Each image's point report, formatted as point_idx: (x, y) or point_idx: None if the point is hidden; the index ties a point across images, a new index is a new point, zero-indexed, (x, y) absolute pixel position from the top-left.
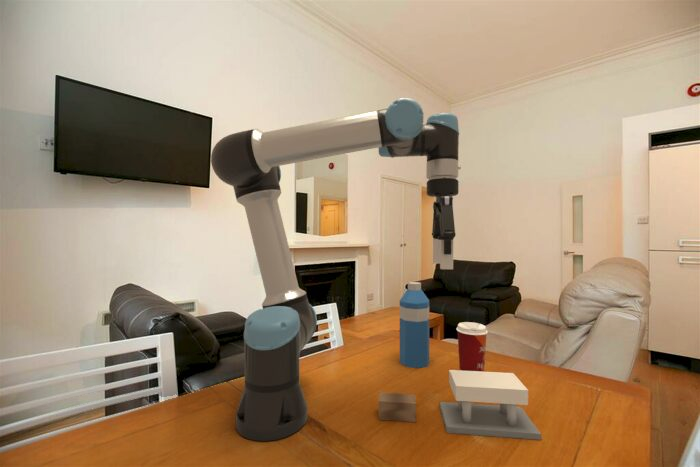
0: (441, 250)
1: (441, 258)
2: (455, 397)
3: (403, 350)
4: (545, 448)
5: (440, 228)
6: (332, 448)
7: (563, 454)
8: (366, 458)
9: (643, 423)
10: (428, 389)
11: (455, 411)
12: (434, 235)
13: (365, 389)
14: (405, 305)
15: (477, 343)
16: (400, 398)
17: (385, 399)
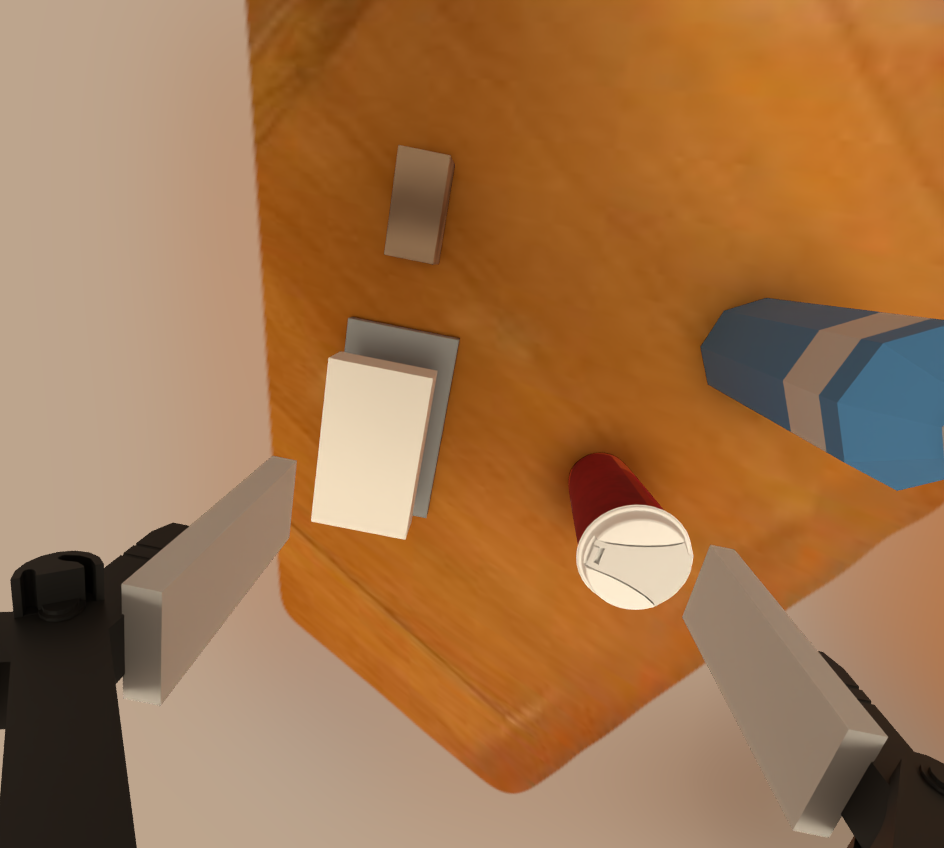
0: (193, 528)
1: (232, 494)
2: (347, 353)
3: (763, 310)
4: (307, 485)
5: (110, 736)
6: (290, 11)
7: (292, 505)
8: (260, 102)
9: (383, 695)
10: (553, 338)
11: (410, 362)
12: (891, 794)
13: (576, 135)
14: (873, 340)
15: (577, 537)
16: (412, 216)
17: (408, 168)
